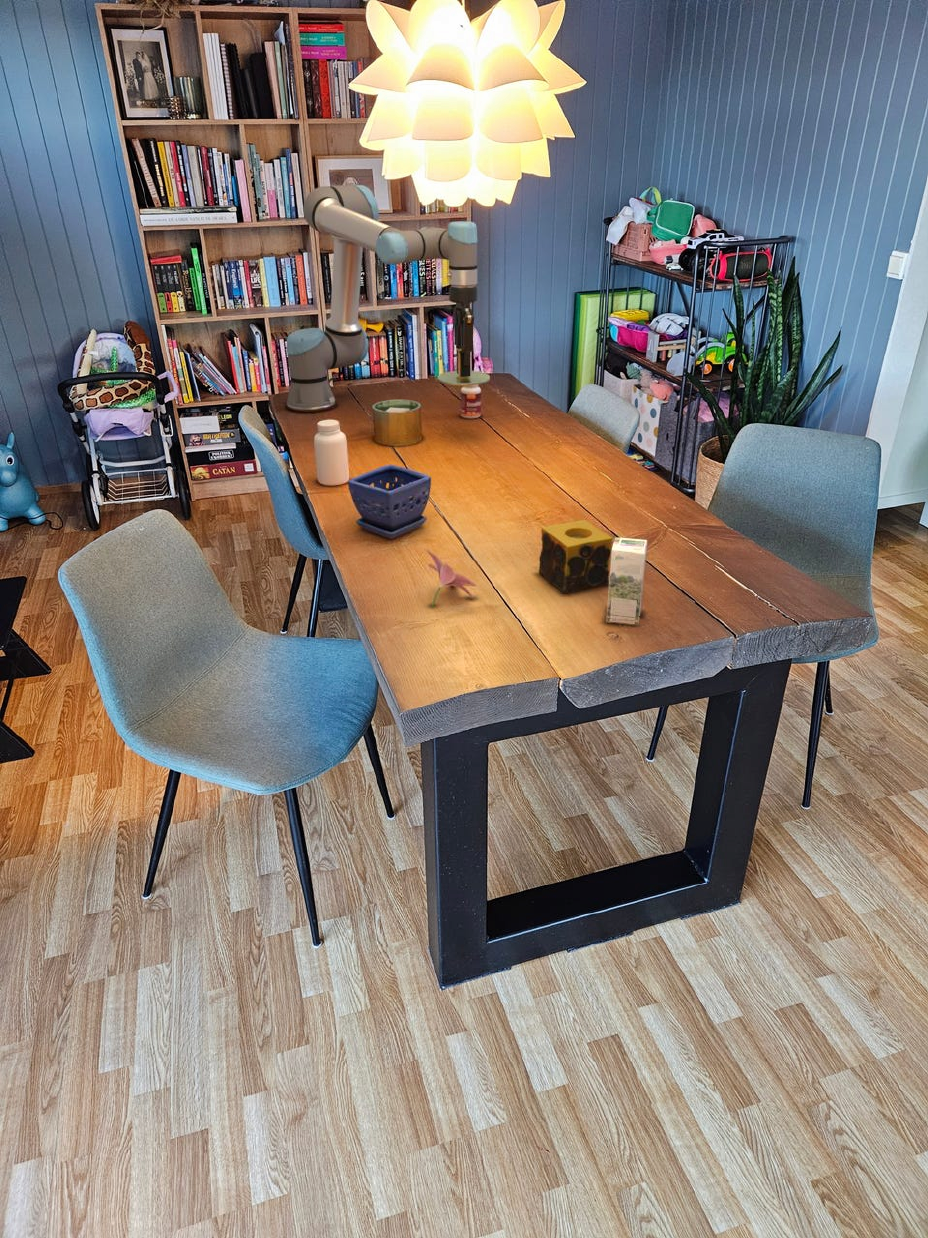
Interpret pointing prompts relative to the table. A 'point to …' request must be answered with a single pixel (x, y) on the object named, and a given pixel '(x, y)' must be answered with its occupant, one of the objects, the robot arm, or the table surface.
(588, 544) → the candle
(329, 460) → the pill bottle
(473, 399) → the pill bottle
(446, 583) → the lily
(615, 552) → the syrup box
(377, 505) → the flower pot
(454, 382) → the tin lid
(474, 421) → the table surface
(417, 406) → the tin
